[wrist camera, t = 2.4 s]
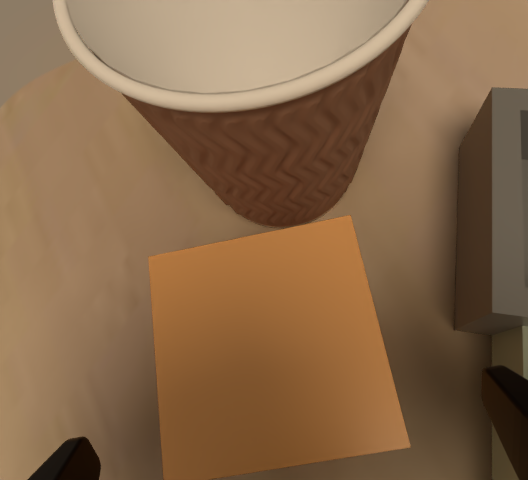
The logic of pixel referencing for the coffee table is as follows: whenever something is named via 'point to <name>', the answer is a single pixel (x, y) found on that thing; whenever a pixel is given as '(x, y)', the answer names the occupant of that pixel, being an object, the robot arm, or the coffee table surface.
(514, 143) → the grey tray
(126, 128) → the coffee table surface
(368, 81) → the coffee cup
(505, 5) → the coffee table surface
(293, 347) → the orange rectangular pillar
